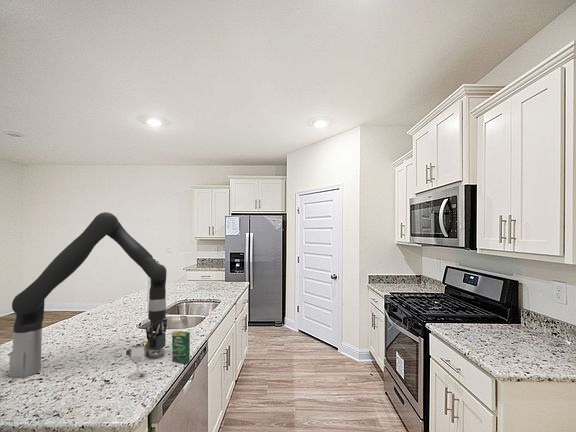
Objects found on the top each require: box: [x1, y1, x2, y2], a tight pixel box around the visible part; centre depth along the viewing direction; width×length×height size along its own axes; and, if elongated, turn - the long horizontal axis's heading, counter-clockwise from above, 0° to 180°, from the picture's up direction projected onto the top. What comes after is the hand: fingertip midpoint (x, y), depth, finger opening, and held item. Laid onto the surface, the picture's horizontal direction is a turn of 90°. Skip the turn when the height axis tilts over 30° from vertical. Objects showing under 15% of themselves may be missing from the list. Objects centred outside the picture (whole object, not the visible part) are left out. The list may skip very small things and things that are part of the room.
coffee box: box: [171, 330, 191, 365], centre depth 145 cm, size 8×3×13 cm, turn 66°
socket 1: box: [140, 340, 148, 350], centre depth 158 cm, size 4×4×4 cm
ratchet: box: [125, 348, 165, 360], centre depth 152 cm, size 6×18×6 cm, turn 81°
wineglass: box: [129, 343, 146, 380], centre depth 131 cm, size 6×6×12 cm
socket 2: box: [147, 332, 167, 350], centre depth 151 cm, size 6×6×6 cm
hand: (156, 345), depth 151 cm, fingers closed on socket 2, 5 cm apart
